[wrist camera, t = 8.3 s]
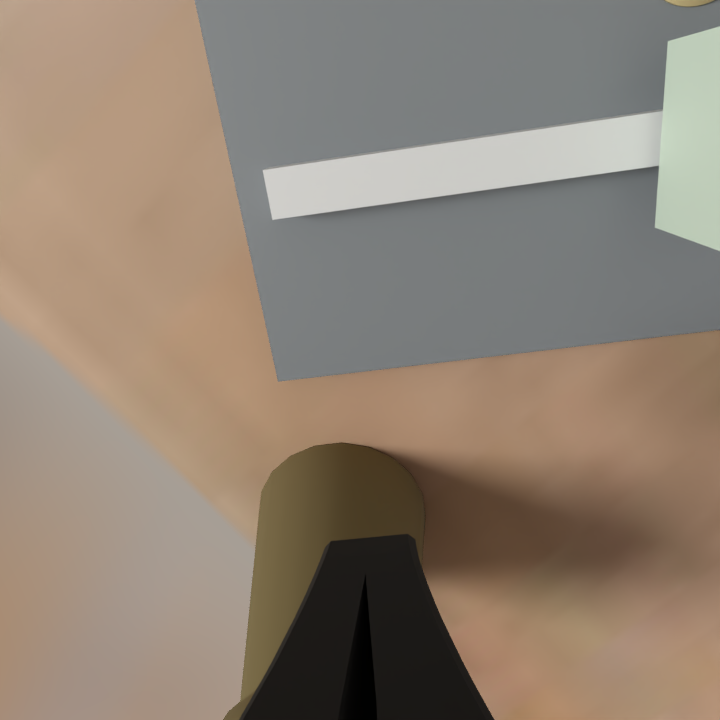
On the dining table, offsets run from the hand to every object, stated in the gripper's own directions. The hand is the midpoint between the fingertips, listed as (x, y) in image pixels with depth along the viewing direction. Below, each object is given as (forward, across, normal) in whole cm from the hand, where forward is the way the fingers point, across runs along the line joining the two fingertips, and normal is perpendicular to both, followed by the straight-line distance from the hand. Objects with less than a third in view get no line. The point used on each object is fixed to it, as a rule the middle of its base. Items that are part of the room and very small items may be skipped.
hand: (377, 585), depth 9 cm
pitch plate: (+9, -8, -6) cm, 14 cm away
